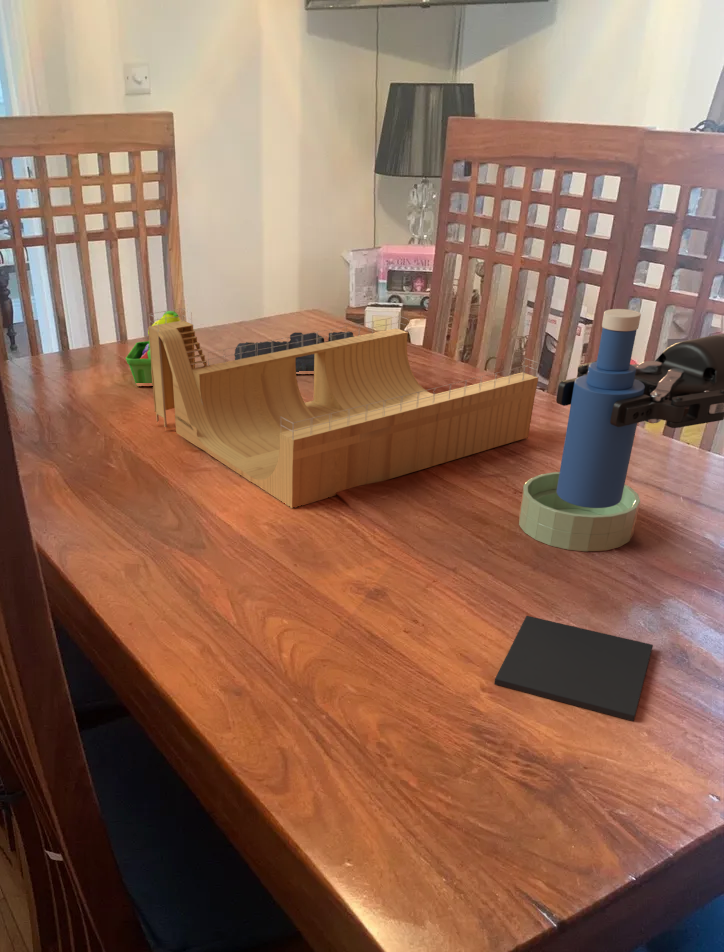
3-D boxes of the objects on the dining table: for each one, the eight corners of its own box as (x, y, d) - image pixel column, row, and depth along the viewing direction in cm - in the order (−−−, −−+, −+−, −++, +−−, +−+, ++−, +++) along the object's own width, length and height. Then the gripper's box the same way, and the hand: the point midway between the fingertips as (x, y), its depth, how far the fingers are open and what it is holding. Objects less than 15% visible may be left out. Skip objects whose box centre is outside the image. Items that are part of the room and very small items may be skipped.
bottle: (592, 478, 87) (625, 302, 78) (635, 501, 82) (675, 316, 73) (543, 488, 85) (571, 309, 76) (584, 513, 80) (619, 324, 71)
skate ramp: (291, 516, 102) (292, 383, 93) (155, 425, 127) (146, 313, 118) (527, 444, 121) (546, 328, 112) (368, 377, 146) (374, 277, 137)
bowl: (581, 500, 102) (587, 465, 100) (655, 542, 93) (664, 504, 91) (496, 518, 99) (501, 482, 96) (565, 564, 89) (572, 525, 87)
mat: (525, 620, 80) (526, 615, 80) (651, 650, 75) (653, 644, 75) (493, 684, 72) (494, 678, 71) (633, 721, 67) (635, 715, 67)
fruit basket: (139, 370, 152) (133, 304, 146) (189, 370, 152) (185, 303, 146) (127, 390, 142) (120, 319, 136) (181, 389, 142) (176, 319, 136)
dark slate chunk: (233, 353, 160) (232, 327, 158) (351, 350, 161) (352, 324, 159) (235, 377, 147) (234, 349, 145) (363, 373, 148) (364, 345, 146)
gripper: (770, 434, 81) (640, 470, 74) (648, 392, 91) (525, 420, 85) (794, 354, 77) (658, 384, 70) (663, 320, 88) (536, 343, 81)
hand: (586, 403), depth 78 cm, fingers closed on bottle, 6 cm apart
